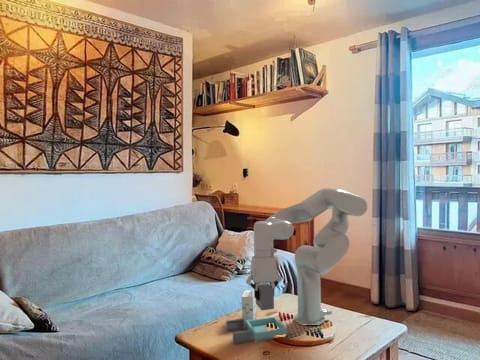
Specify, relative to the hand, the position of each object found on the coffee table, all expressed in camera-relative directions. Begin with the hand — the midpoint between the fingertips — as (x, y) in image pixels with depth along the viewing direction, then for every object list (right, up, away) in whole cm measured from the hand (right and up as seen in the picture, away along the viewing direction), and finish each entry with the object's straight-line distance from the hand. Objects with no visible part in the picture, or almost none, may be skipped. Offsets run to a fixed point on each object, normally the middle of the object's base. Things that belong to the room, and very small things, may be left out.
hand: (264, 298), depth 154 cm
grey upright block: (0, -3, 0) cm, 3 cm away
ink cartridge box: (-6, -13, +13) cm, 19 cm away
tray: (+1, -14, +1) cm, 14 cm away
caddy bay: (-10, -14, -2) cm, 17 cm away
